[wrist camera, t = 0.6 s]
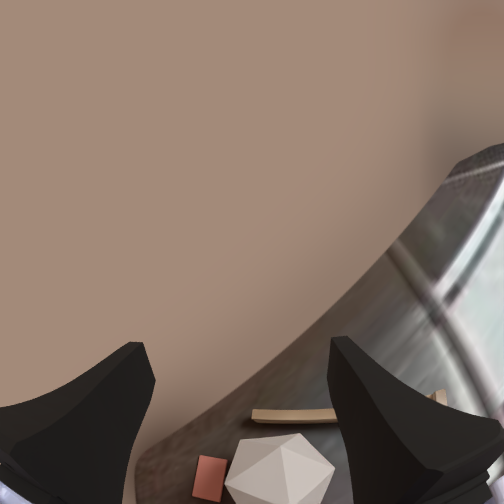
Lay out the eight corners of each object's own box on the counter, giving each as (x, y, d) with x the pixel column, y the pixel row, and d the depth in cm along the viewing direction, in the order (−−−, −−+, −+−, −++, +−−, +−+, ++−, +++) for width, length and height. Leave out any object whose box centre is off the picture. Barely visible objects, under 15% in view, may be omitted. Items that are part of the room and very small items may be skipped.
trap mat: (220, 502, 18) (219, 502, 18) (193, 495, 19) (192, 495, 19) (227, 459, 22) (226, 459, 22) (201, 455, 23) (199, 455, 23)
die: (299, 423, 24) (212, 417, 19) (368, 449, 16) (276, 465, 12) (277, 487, 21) (191, 492, 17) (335, 524, 14) (240, 551, 9)
